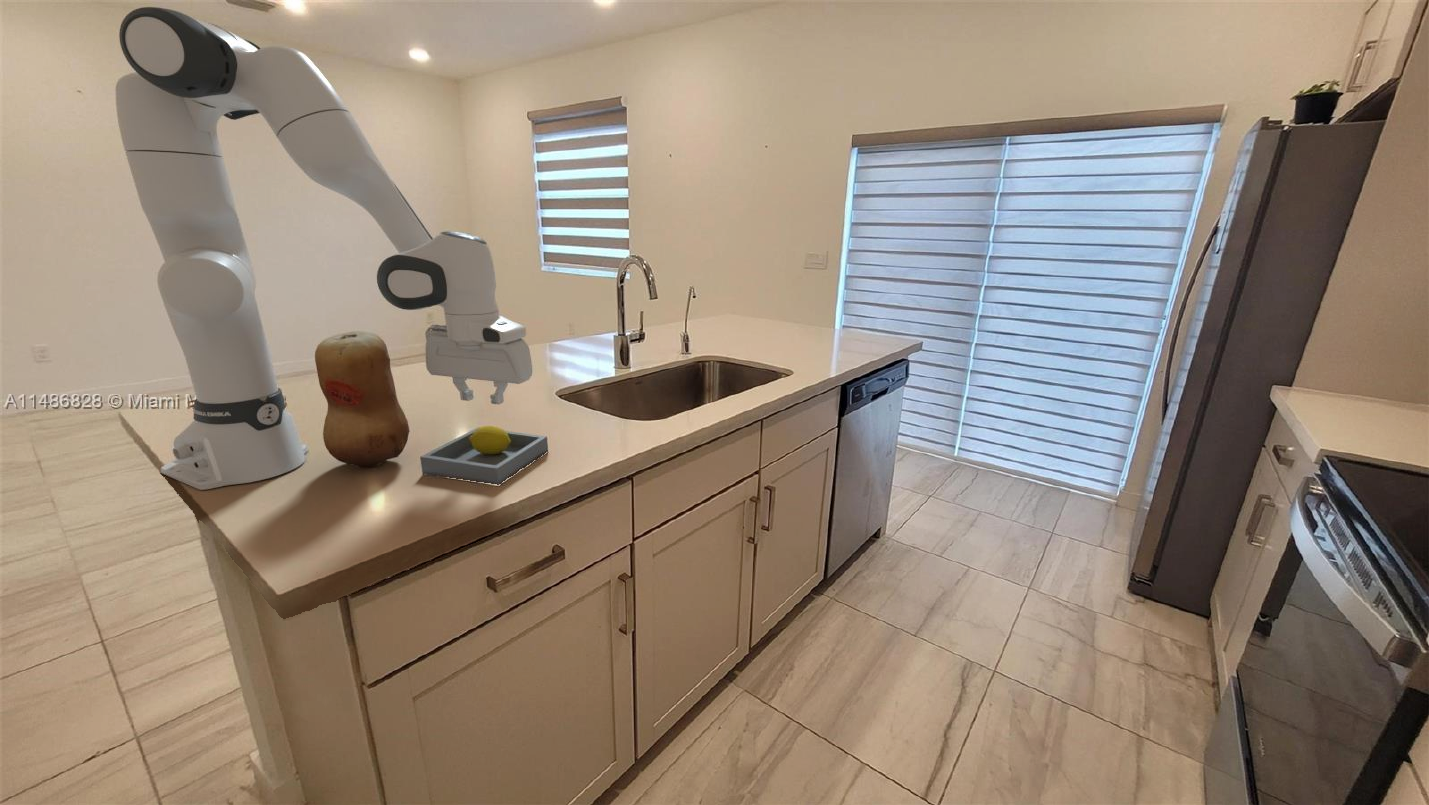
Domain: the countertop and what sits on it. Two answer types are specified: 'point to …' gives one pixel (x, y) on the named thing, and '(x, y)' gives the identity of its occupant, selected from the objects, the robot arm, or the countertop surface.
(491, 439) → the lemon
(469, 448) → the tray
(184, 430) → the robot arm
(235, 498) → the countertop surface
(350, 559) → the countertop surface
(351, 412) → the butternut squash
